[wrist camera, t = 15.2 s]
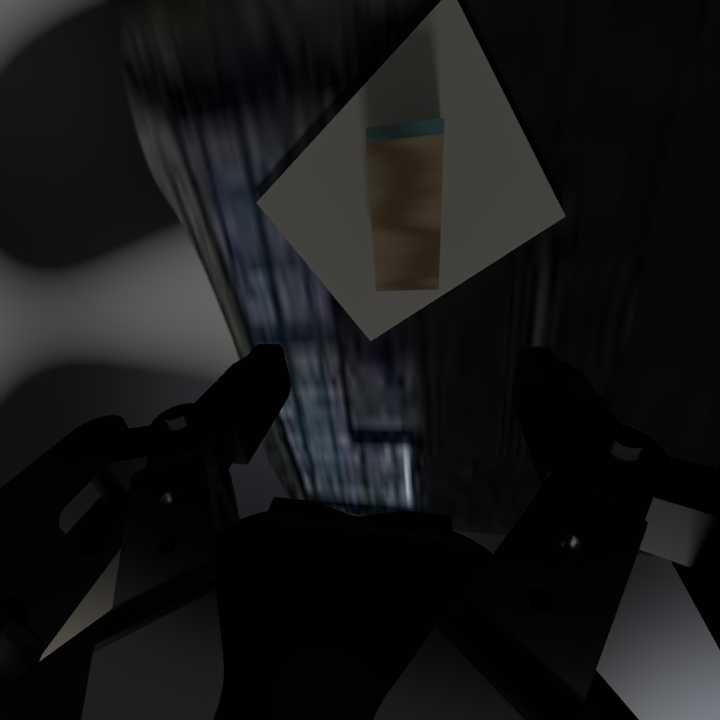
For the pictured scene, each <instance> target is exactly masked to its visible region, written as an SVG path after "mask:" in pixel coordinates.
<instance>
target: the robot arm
mask: <svg viewBox="0 0 720 720" xmlns="http://www.w3.org/2000/svg"><path fill="white" fill-rule="evenodd" d="M290 388H291V383H290V377H289V373H288V369H287V364H286V360H285V355H284V351H283V348H282V346H281V345H280V344H258V345H257V346H256V347H255V348H254V349H253V350H252V351H251V352H250V353H249V354H248V355H247V356H246V357H244V358H243V359H241V360H239V361H237V362H236V363H234V364H233V365H232V366H231V367H230V368H229V369H228V370H227V371H226V372H225V374H223V375H222V376H221V377H220V378H219V379H218V381H217V382H215V383H214V384H213V385H212V386H211V387H210V388H209V389H208V390H207V391H206V392H205V393H204V394H203V395H202V396H201V397H200V398H199V399H198V400H197V401H196V402H195V403H185V404H181V405H177V406H174V407H172V408H170V409H168V410H166V411H164V412H162V413H161V414H159V415H158V416H157V417H156V418H155V419H154V420H153V421H152V423H151V425H149V426H143V427H138V428H131V429H129V428H128V427H127V425H126V423H125V421H124V420H123V418H122V417H120V416H117V415H109V416H104V417H100V418H96V419H94V420H91V421H89V422H87V423H85V424H83V425H81V426H79V427H78V428H76V429H75V430H73V431H72V432H71V433H69V434H68V435H67V436H66V437H64V438H63V439H62V440H61V441H60V442H58V443H57V444H56V445H54V446H53V447H52V448H51V449H49V450H48V451H47V452H46V453H44V454H43V455H42V456H40V457H39V458H38V459H37V460H35V461H34V462H33V463H32V464H30V465H29V466H28V467H27V468H26V469H24V470H23V471H22V472H20V473H19V474H18V475H17V476H15V477H14V478H13V479H12V480H10V481H9V482H8V483H7V484H5V485H4V486H3V487H2V488H0V720H638V718H637V717H636V716H635V715H634V714H633V712H632V711H631V710H630V709H629V708H628V707H627V706H626V705H625V703H624V702H623V701H622V700H621V698H620V697H619V696H618V695H617V694H616V693H615V692H614V690H613V689H612V688H611V687H610V686H609V685H608V683H607V682H606V681H605V680H604V679H603V678H602V676H601V675H600V674H599V673H598V672H597V671H596V668H597V665H598V662H599V659H600V656H601V654H602V651H603V648H604V645H605V643H606V640H607V637H608V634H609V632H610V629H611V626H612V623H613V621H614V618H615V615H616V612H617V609H618V607H619V604H620V601H621V598H622V596H623V593H624V590H625V587H626V585H627V582H628V579H629V576H630V573H631V570H632V568H633V565H634V562H635V560H636V556H637V554H638V551H639V549H640V550H643V551H646V552H649V553H651V554H654V555H657V556H660V557H662V558H665V559H668V560H671V562H672V564H673V566H674V567H675V569H676V571H677V573H678V575H679V576H680V578H681V580H682V582H683V584H684V585H685V587H686V589H687V591H688V593H689V595H690V596H691V598H692V600H693V602H694V604H695V606H696V607H697V609H698V611H699V613H700V615H701V617H702V618H703V620H704V622H705V624H706V626H707V627H708V629H709V631H710V633H711V635H712V636H713V638H714V640H715V642H716V644H717V646H718V647H719V649H720V464H719V466H718V467H717V469H716V468H712V467H708V466H704V465H700V464H696V463H692V462H688V461H684V460H680V459H676V458H673V457H669V456H667V453H666V451H665V449H664V448H663V447H662V445H661V444H659V443H658V442H657V441H656V440H655V439H654V438H652V437H651V436H649V435H647V434H646V433H644V432H642V431H640V430H637V429H635V428H632V427H629V426H626V425H622V424H621V423H620V422H619V421H618V419H617V418H616V417H615V415H614V414H613V413H612V411H611V410H610V409H609V407H608V406H607V405H606V403H605V402H604V401H603V399H602V398H601V397H600V395H597V391H596V390H595V388H594V387H593V386H592V385H590V382H589V380H588V379H587V378H586V376H585V375H584V374H583V372H581V371H580V370H578V369H577V368H575V367H574V366H572V365H570V364H569V363H560V362H559V361H558V359H557V358H556V356H555V355H554V353H553V352H552V350H551V349H550V348H549V347H529V346H522V347H521V348H520V350H519V353H518V359H517V364H516V370H515V375H514V381H513V386H512V404H513V408H514V411H515V413H516V416H517V419H518V422H519V425H520V428H521V430H522V433H523V436H524V439H525V442H526V444H527V447H528V450H529V453H530V456H531V459H532V461H533V464H534V467H535V470H536V473H537V476H538V478H539V481H540V484H541V486H540V488H539V489H538V491H537V492H536V494H535V495H534V496H533V498H532V499H531V501H530V502H529V504H528V505H527V506H526V508H525V509H524V511H523V512H522V514H521V515H520V516H519V518H518V519H517V521H516V522H515V524H514V525H513V526H512V528H511V529H510V531H509V532H508V534H507V535H506V536H505V538H504V539H503V541H502V542H501V544H500V545H499V547H498V548H497V549H496V551H495V552H494V554H492V553H491V552H489V551H488V550H487V549H486V548H484V547H483V546H481V545H480V544H478V543H477V542H475V541H473V540H471V539H469V538H467V537H465V536H463V535H461V534H459V533H456V532H453V531H452V517H451V516H450V515H441V514H431V513H422V512H412V511H398V512H390V513H383V514H375V515H367V516H358V517H357V516H352V515H349V514H347V513H344V512H341V511H339V510H336V509H333V508H331V507H328V506H326V505H323V504H320V503H318V502H315V501H307V500H298V499H288V498H279V497H274V499H273V501H272V503H271V505H270V507H269V510H268V511H267V512H262V513H258V514H254V515H251V516H248V517H245V518H243V519H241V520H240V517H239V512H238V507H237V502H236V497H235V492H234V487H233V482H232V477H231V474H230V472H229V468H230V466H231V465H232V463H236V464H248V463H249V462H250V460H251V458H252V457H253V455H254V453H255V452H256V450H257V448H258V447H259V445H260V443H261V442H262V440H263V438H264V437H265V435H266V433H267V432H268V430H269V428H270V427H271V425H272V423H273V422H274V420H275V418H276V417H277V415H278V413H279V412H280V410H281V408H282V407H283V405H284V403H285V402H286V400H287V398H288V397H289V394H290ZM89 482H91V483H92V484H93V486H94V487H95V489H96V490H97V491H98V493H99V494H100V495H101V497H100V498H99V499H98V500H97V501H96V502H95V503H94V505H93V506H92V507H91V508H90V509H89V510H88V511H87V512H86V513H85V514H84V515H83V517H81V519H80V520H79V521H78V522H77V523H76V524H75V525H74V526H73V527H72V528H71V529H70V530H69V532H68V533H67V534H65V533H64V532H63V531H62V530H61V529H60V526H59V517H60V514H61V512H62V510H63V509H64V507H65V506H66V505H67V504H68V503H69V502H70V501H71V500H72V499H73V498H74V497H75V496H76V495H77V494H78V493H79V492H80V491H81V490H82V489H83V488H84V487H85V486H86V485H87V484H88V483H89ZM120 549H121V553H120V559H119V566H118V573H117V580H116V586H115V593H114V600H113V607H112V610H110V611H109V612H107V613H106V614H105V615H103V616H102V617H101V618H99V619H98V620H96V621H95V622H94V623H92V624H91V625H89V626H88V627H87V628H85V629H84V630H83V631H81V632H80V633H78V634H77V635H76V636H74V637H73V638H72V639H70V640H69V641H67V642H66V643H65V644H63V645H62V646H61V647H59V648H58V649H56V650H55V651H54V652H52V653H51V654H49V655H48V656H47V657H45V658H44V659H43V660H41V661H40V662H39V660H40V658H41V655H42V653H43V652H44V651H45V649H46V648H47V647H48V645H49V644H50V643H51V641H52V640H53V639H54V637H55V636H56V635H57V633H58V632H59V631H60V629H61V628H62V627H63V625H64V624H65V623H66V621H67V620H68V619H69V617H70V616H71V615H72V613H73V612H74V610H75V609H76V608H77V606H78V605H79V604H80V602H81V601H82V600H83V598H84V597H85V596H86V594H87V593H88V592H89V590H90V589H91V588H92V586H93V585H94V584H95V582H96V581H97V580H98V578H99V577H100V576H101V574H102V573H103V572H104V570H105V569H106V567H107V566H108V565H109V563H110V562H111V561H112V559H113V558H114V557H115V555H116V554H117V553H118V551H119V550H120Z"/></svg>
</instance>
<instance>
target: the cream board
mask: <svg viewBox="0 0 720 720" xmlns="http://www.w3.org/2000/svg"><path fill="white" fill-rule="evenodd" d="M440 118H444V148H443V177H442V207H441V237H440V266H439V289H438V290H404V291H376V283H375V268H374V253H373V237H372V222H371V206H370V191H369V175H368V160H367V145H366V129H365V128H369V127H377V126H385V125H393V124H401V123H409V122H416V121H424V120H432V119H440ZM256 203H257V204H258V205H259V207H260V208H261V209H262V210H263V211H264V213H265V214H266V215H267V216H268V217H269V219H270V220H271V221H272V222H273V223H274V225H275V226H276V227H277V228H278V230H279V231H280V232H281V233H282V234H283V236H284V237H285V238H286V239H287V240H288V242H289V243H290V244H291V245H292V246H293V248H294V249H295V250H296V251H297V253H298V254H299V255H300V256H301V257H302V259H303V260H304V261H305V262H306V263H307V265H308V266H309V267H310V268H311V269H312V271H313V272H314V273H315V274H316V276H317V277H318V278H319V279H320V280H321V282H322V283H323V284H324V285H325V286H326V288H327V289H328V290H329V291H330V292H331V294H332V295H333V296H334V297H335V299H336V300H337V301H338V302H339V303H340V305H341V306H342V307H343V308H344V309H345V311H346V312H347V313H348V314H349V315H350V317H351V318H352V319H353V320H354V322H355V323H356V324H357V325H358V326H359V328H360V329H361V330H362V331H363V332H364V334H365V335H366V336H367V337H368V338H369V340H370V341H372V340H373V339H375V338H376V337H378V336H379V335H381V334H382V333H384V332H386V331H387V330H389V329H390V328H392V327H393V326H395V325H397V324H398V323H400V322H401V321H403V320H404V319H406V318H407V317H409V316H411V315H412V314H414V313H415V312H417V311H418V310H420V309H422V308H423V307H425V306H426V305H428V304H429V303H431V302H432V301H434V300H436V299H437V298H439V297H440V296H442V295H443V294H445V293H446V292H448V291H450V290H451V289H453V288H454V287H456V286H457V285H459V284H461V283H462V282H464V281H465V280H467V279H468V278H470V277H471V276H473V275H475V274H476V273H478V272H479V271H481V270H482V269H484V268H486V267H487V266H489V265H490V264H492V263H493V262H495V261H496V260H498V259H500V258H501V257H503V256H504V255H506V254H507V253H509V252H510V251H512V250H514V249H515V248H517V247H518V246H520V245H521V244H523V243H525V242H526V241H528V240H529V239H531V238H532V237H534V236H535V235H537V234H539V233H540V232H542V231H543V230H545V229H546V228H548V227H550V226H551V225H553V224H554V223H556V222H557V221H559V220H560V219H562V218H564V217H565V214H564V212H563V210H562V208H561V206H560V204H559V202H558V200H557V198H556V196H555V194H554V192H553V190H552V188H551V186H550V184H549V182H548V180H547V178H546V176H545V174H544V172H543V170H542V168H541V166H540V164H539V162H538V160H537V158H536V156H535V154H534V152H533V150H532V148H531V146H530V144H529V142H528V140H527V138H526V136H525V134H524V132H523V130H522V128H521V126H520V125H519V123H518V121H517V119H516V117H515V115H514V113H513V111H512V109H511V107H510V105H509V103H508V101H507V99H506V97H505V95H504V93H503V91H502V89H501V87H500V85H499V83H498V81H497V79H496V77H495V75H494V73H493V71H492V69H491V67H490V65H489V63H488V61H487V59H486V57H485V55H484V53H483V51H482V49H481V47H480V45H479V43H478V41H477V39H476V37H475V35H474V33H473V31H472V29H471V27H470V25H469V23H468V21H467V19H466V17H465V15H464V13H463V11H462V9H461V7H460V5H459V3H458V1H457V0H441V1H440V2H439V4H438V5H437V6H436V7H435V8H434V9H433V10H432V11H431V12H430V13H429V14H428V16H427V17H426V18H425V19H424V20H423V21H422V22H421V23H420V24H419V25H418V26H417V28H416V29H415V30H414V31H413V32H412V33H411V34H410V35H409V36H408V37H407V39H406V40H405V41H404V42H403V43H402V44H401V45H400V46H399V47H398V48H397V49H396V51H395V52H394V53H393V54H392V55H391V56H390V57H389V58H388V59H387V60H386V61H385V63H384V64H383V65H382V66H381V67H380V68H379V69H378V70H377V71H376V72H375V73H374V75H373V76H372V77H371V78H370V79H369V80H368V81H367V82H366V83H365V84H364V86H363V87H362V88H361V89H360V90H359V91H358V92H357V93H356V94H355V95H354V96H353V98H352V99H351V100H350V101H349V102H348V103H347V104H346V105H345V106H344V107H343V108H342V110H341V111H340V112H339V113H338V114H337V115H336V116H335V117H334V118H333V119H332V121H331V122H330V123H329V124H328V125H327V126H326V127H325V128H324V129H323V130H322V131H321V133H320V134H319V135H318V136H317V137H316V138H315V139H314V140H313V141H312V142H311V143H310V145H309V146H308V147H307V148H306V149H305V150H304V151H303V152H302V153H301V154H300V155H299V157H298V158H297V159H296V160H295V161H294V162H293V163H292V164H291V165H290V166H289V168H288V169H287V170H286V171H285V172H284V173H283V174H282V175H281V176H280V177H279V178H278V180H277V181H276V182H275V183H274V184H273V185H272V186H271V187H270V188H269V189H268V190H267V192H266V193H265V194H264V195H263V196H262V197H261V198H260V199H259V200H258V201H257V202H256Z"/></svg>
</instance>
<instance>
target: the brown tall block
mask: <svg viewBox="0 0 720 720" xmlns="http://www.w3.org/2000/svg"><path fill="white" fill-rule="evenodd" d="M365 129H366V145H367V160H368V175H369V191H370V206H371V222H372V237H373V253H374V268H375V283H376V291H404V290H438V289H439V266H440V237H441V207H442V177H443V148H444V118H440V119H432V120H424V121H416V122H409V123H401V124H393V125H385V126H377V127H369V128H365Z"/></svg>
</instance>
